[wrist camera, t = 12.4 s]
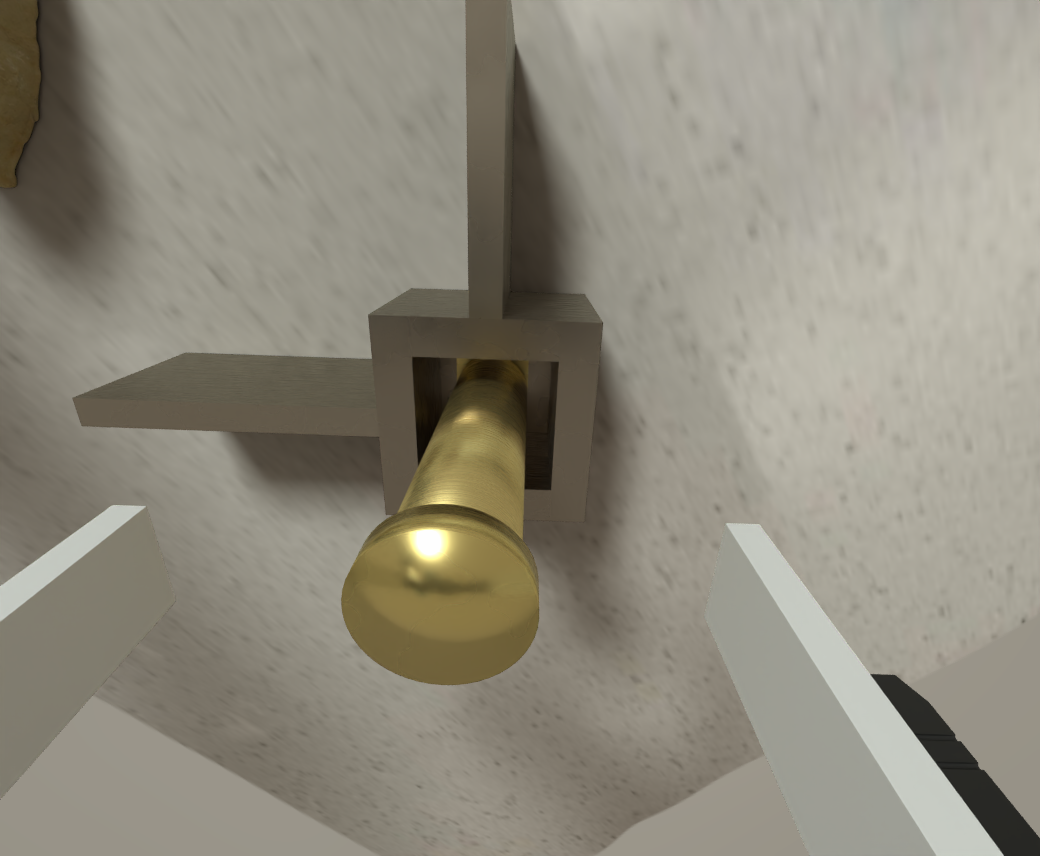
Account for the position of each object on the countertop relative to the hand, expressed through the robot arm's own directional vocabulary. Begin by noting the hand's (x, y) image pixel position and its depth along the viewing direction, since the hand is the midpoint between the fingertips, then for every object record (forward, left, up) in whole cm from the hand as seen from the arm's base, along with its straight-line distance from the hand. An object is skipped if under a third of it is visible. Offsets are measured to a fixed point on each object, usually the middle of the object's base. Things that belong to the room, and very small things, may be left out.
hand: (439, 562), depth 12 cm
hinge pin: (0, 0, -15) cm, 15 cm away
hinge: (-6, +5, -16) cm, 17 cm away
